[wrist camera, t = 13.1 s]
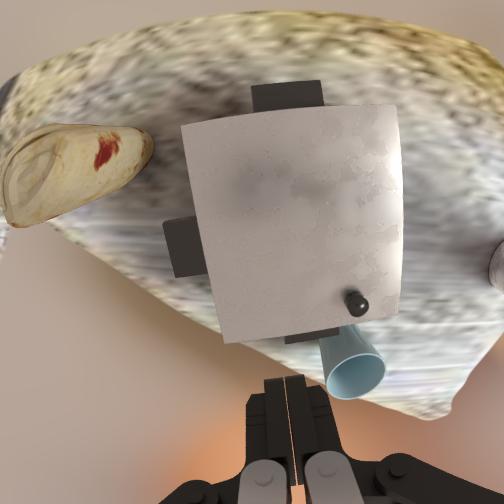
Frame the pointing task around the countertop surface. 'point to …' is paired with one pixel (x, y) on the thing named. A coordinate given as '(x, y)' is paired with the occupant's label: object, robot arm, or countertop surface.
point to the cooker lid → (294, 218)
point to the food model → (68, 169)
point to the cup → (350, 363)
